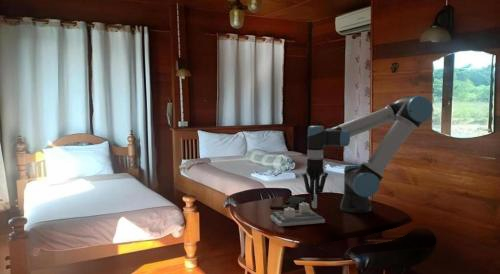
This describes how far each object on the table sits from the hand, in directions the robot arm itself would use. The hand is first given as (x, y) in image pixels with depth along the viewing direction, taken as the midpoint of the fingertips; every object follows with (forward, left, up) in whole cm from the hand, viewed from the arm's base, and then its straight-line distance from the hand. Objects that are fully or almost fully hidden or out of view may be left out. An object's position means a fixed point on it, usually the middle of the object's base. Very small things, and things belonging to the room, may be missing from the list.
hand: (314, 207), depth 194 cm
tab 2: (+5, 0, -3) cm, 6 cm away
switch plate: (+10, +4, -5) cm, 12 cm away
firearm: (+3, -27, -5) cm, 28 cm away
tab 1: (+15, +7, -3) cm, 17 cm away
